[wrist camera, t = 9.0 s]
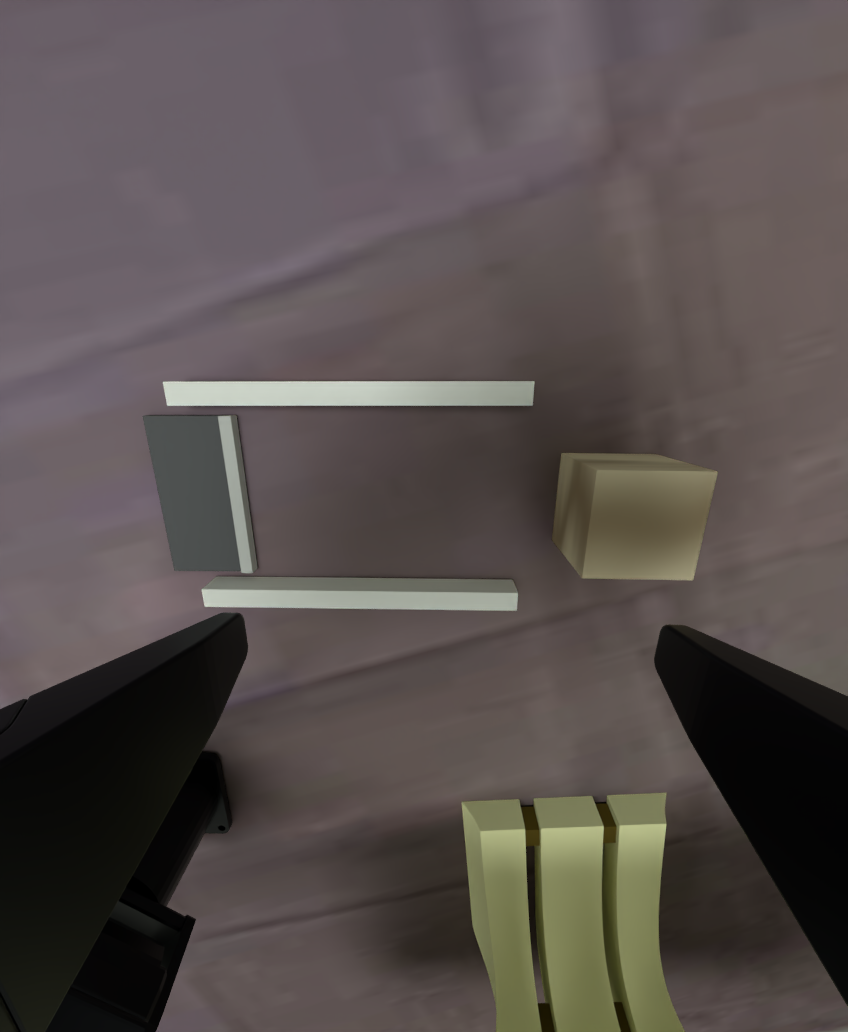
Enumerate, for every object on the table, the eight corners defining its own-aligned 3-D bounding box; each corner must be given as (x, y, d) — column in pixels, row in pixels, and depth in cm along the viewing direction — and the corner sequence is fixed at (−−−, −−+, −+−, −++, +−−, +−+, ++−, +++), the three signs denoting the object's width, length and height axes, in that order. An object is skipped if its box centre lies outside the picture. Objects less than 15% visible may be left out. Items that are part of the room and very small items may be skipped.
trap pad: (257, 568, 22) (252, 573, 21) (179, 567, 22) (172, 572, 21) (236, 415, 19) (230, 416, 19) (148, 415, 19) (139, 416, 19)
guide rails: (511, 596, 22) (516, 610, 20) (219, 592, 22) (204, 606, 21) (526, 382, 18) (534, 381, 17) (183, 382, 19) (162, 381, 17)
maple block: (639, 540, 21) (693, 580, 16) (551, 539, 21) (582, 578, 16) (654, 453, 19) (717, 471, 15) (560, 452, 19) (596, 470, 15)
